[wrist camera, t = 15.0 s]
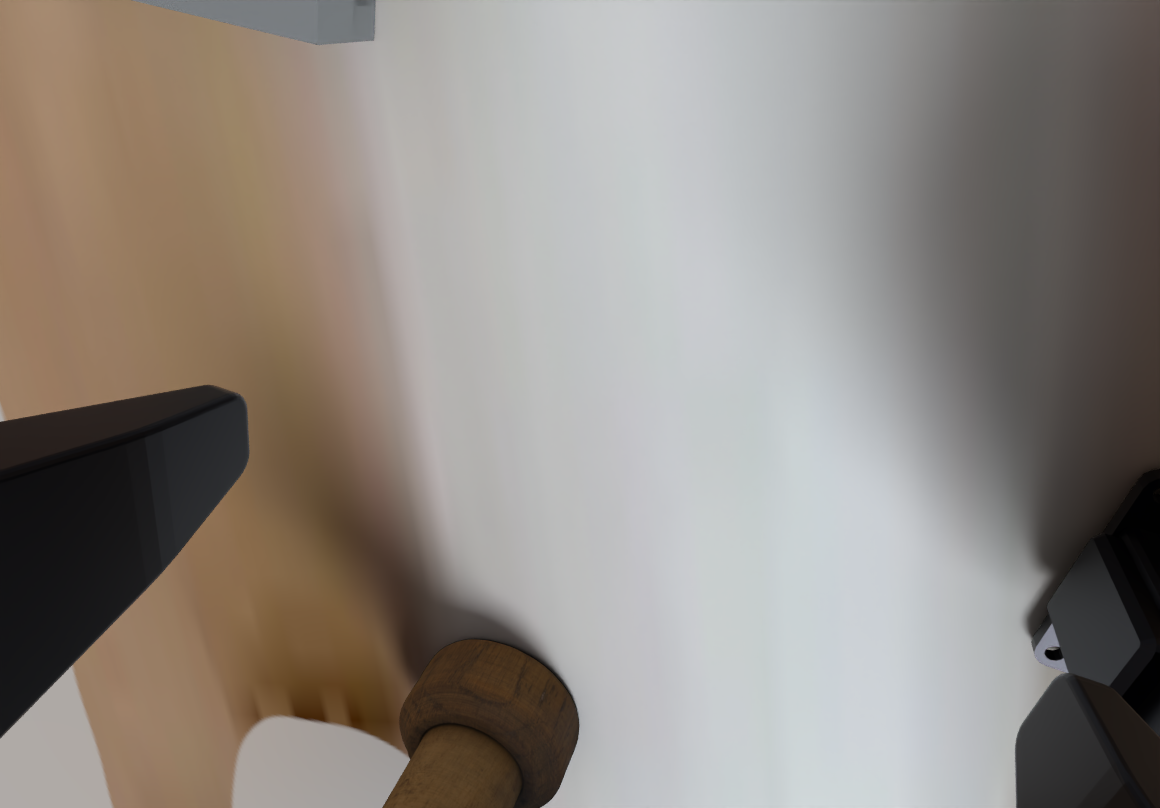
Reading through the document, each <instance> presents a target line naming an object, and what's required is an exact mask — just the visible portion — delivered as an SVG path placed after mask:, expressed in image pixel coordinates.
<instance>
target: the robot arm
mask: <svg viewBox="0 0 1160 808" xmlns="http://www.w3.org/2000/svg"><path fill="white" fill-rule="evenodd" d="M248 458H249V434H248V415H247V404H246V402H245V400H244V398H243V397H242V396H241V395H240V394H238V393H235V392H232V391H229V390H226V389H223V388H220V387H217V386H214V385H203V386H197V387H191V388H186V389H180V390H175V391H169V392H164V393H158V394H153V395H147V396H141V397H136V398H130V399H125V400H119V401H114V402H108V403H102V404H97V405H91V406H86V407H80V408H75V409H69V410H63V411H58V412H52V413H47V414H41V415H36V416H30V417H25V418H19V419H13V420H8V421H2V422H0V738H1V737H2V736H3V735H4V734H5V733H6V732H7V731H8V730H9V729H10V728H11V727H12V726H13V725H14V724H15V723H16V722H17V721H18V720H19V719H20V718H21V717H22V715H24V714H25V713H26V712H27V711H28V710H29V709H30V707H32V706H33V705H34V704H35V702H37V701H38V699H39V698H40V697H41V696H42V695H43V694H44V693H45V692H46V691H47V690H48V689H49V688H50V687H51V686H52V685H53V684H54V683H55V682H56V681H57V680H58V679H59V678H60V677H61V676H62V675H63V674H64V673H65V672H66V671H67V670H68V669H69V667H71V666H72V665H73V664H74V663H75V662H76V661H77V660H78V659H79V658H80V657H81V656H82V655H83V654H84V653H85V652H86V650H87V649H88V648H89V647H90V646H91V645H92V644H93V643H94V642H95V641H96V640H97V639H98V638H99V637H100V636H101V635H102V634H103V633H104V632H105V631H106V630H107V629H108V628H109V627H110V626H111V625H112V624H113V623H114V622H115V621H116V620H117V619H118V618H119V617H120V616H121V615H122V614H123V613H124V612H125V611H126V610H127V609H128V608H129V607H130V606H131V605H132V604H133V603H134V602H135V600H136V599H137V598H138V597H139V596H140V595H141V594H142V593H143V592H144V591H145V590H146V589H147V588H148V587H149V586H150V585H151V584H152V583H153V582H154V581H155V580H156V579H157V578H158V576H159V575H160V574H161V573H162V572H163V571H164V570H165V569H166V567H167V566H168V565H169V564H170V563H171V562H172V560H173V559H174V558H175V557H176V556H177V555H178V553H179V552H180V551H181V550H182V548H183V547H184V546H185V545H186V543H187V542H188V541H189V540H190V538H191V537H192V536H193V535H194V533H195V532H196V531H197V530H198V528H199V527H200V526H201V525H202V523H203V522H204V521H205V520H206V518H207V517H208V516H209V515H210V513H211V512H212V511H213V510H214V508H215V507H216V506H217V505H218V503H219V502H220V501H221V500H222V498H223V497H224V496H225V495H226V493H227V492H228V491H229V490H230V488H231V487H232V486H233V485H234V483H235V482H236V481H237V480H238V478H239V477H240V476H241V474H242V473H243V471H244V469H245V467H246V465H247V462H248ZM1158 488H1160V469H1156V470H1151V471H1149V472H1147V473H1145V474H1143V475H1142V476H1141V477H1140V478H1139V479H1138V481H1137V482H1136V484H1135V485H1134V487H1133V488H1132V490H1131V491H1130V493H1129V494H1128V496H1127V497H1126V499H1125V500H1124V502H1123V503H1122V505H1121V506H1120V508H1119V509H1118V511H1117V512H1116V514H1115V515H1114V517H1113V518H1112V520H1111V521H1110V523H1109V524H1108V526H1107V527H1106V529H1105V530H1104V532H1103V533H1101V534H1099V535H1097V536H1095V537H1093V538H1091V539H1090V541H1089V542H1088V544H1087V545H1086V547H1085V548H1084V550H1083V551H1082V553H1081V554H1080V556H1079V557H1078V559H1077V560H1076V562H1075V563H1074V565H1073V566H1072V568H1071V569H1070V571H1069V572H1068V574H1067V575H1066V577H1065V578H1064V580H1063V581H1062V583H1061V584H1060V586H1059V587H1058V589H1057V590H1056V592H1055V593H1054V595H1053V597H1052V598H1051V600H1050V601H1049V603H1048V605H1047V609H1048V612H1049V614H1048V615H1047V617H1046V618H1045V620H1044V621H1043V623H1042V624H1041V626H1040V627H1039V629H1038V630H1037V632H1036V633H1035V635H1034V636H1033V639H1032V642H1031V643H1032V647H1033V651H1034V654H1035V658H1036V659H1037V660H1038V661H1039V662H1040V663H1042V664H1044V665H1046V666H1048V667H1051V668H1054V669H1057V670H1060V671H1063V672H1066V673H1064V674H1060V675H1059V676H1057V677H1056V678H1055V679H1054V680H1053V681H1052V682H1051V684H1050V685H1049V687H1048V688H1047V689H1046V691H1045V692H1044V694H1043V695H1042V696H1041V698H1040V699H1039V701H1038V702H1037V703H1036V705H1035V706H1034V708H1033V709H1032V710H1031V712H1030V713H1029V715H1028V716H1027V717H1026V719H1025V720H1024V722H1023V723H1022V725H1021V727H1020V729H1019V732H1018V735H1017V739H1016V745H1015V768H1016V808H1160V495H1154V494H1153V493H1154V491H1156V490H1157V489H1158ZM1053 646H1056V647H1060V648H1059V649H1057V650H1047V648H1049V647H1053Z"/></svg>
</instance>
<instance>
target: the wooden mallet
mask: <svg viewBox="0 0 1160 808" xmlns="http://www.w3.org/2000/svg"><path fill="white" fill-rule="evenodd" d="M400 731H401V736H402V739H403V742H404V744H405V747H406V749H407V751H408V755H409V757H410V761H409V763H408V765H407V767H406V769H405V770H404V772H403V774H402V775H401V777H400V779H399V781H398V782H397V784H396V786H395V787H394V789H393V791H392V792H391V794H390V796H389V797H388V799H387V801H386V802H385V804H384V806H383V808H540V807H542V806H544V805H545V804H547V803H548V802H549V801H550V800H551V799H552V798H553V797H554V795H555V794H556V793H557V791H558V789H559V787H560V785H561V783H562V780H563V777H564V775H565V772H566V770H567V767H568V765H569V762H570V760H571V757H572V755H573V752H574V750H575V747H576V744H577V740H578V735H579V719H578V714H577V710H576V708H575V705H574V702H573V700H572V698H571V697H570V695H569V693H568V691H567V690H566V689H565V687H564V686H563V685H562V683H561V682H560V681H559V680H558V679H557V678H556V676H555V675H554V674H553V673H552V672H551V671H550V670H548V669H547V668H546V667H545V666H544V665H542V664H541V663H539V662H538V661H536V660H535V659H533V658H532V657H530V656H529V655H527V654H525V653H523V652H521V651H519V650H517V649H515V648H513V647H510V646H507V645H504V644H500V643H496V642H493V641H488V640H478V639H469V640H462V641H458V642H455V643H452V644H450V645H448V646H446V647H444V648H443V649H442V650H440V651H439V652H438V653H437V654H436V655H435V656H434V657H433V659H432V660H431V661H430V663H429V664H428V665H427V667H426V669H425V670H424V672H423V674H422V675H421V677H420V679H419V680H418V682H417V683H416V685H415V686H414V688H413V689H412V691H411V692H410V694H409V695H408V697H407V699H406V700H405V702H404V704H403V707H402V709H401V713H400Z"/></svg>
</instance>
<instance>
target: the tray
mask: <svg viewBox="0 0 1160 808" xmlns="http://www.w3.org/2000/svg"><path fill="white" fill-rule="evenodd" d="M133 1H137V2H142V3H146V4H150V5H154V6H158V7H162V8H166V9H171V10H175V11H179V12H183V13H187V14H191V15H195V16H200V17H204V18H208V19H212V20H216V21H220V22H224V23H229V24H233V25H237V26H241V27H245V28H249V29H253V30H258V31H262V32H266V33H270V34H274V35H278V36H282V37H287V38H291V39H295V40H299V41H303V42H307V43H311V44H316V45H322V44H335V43H347V42H360V41H372V40H374V24H375V0H133Z"/></svg>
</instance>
